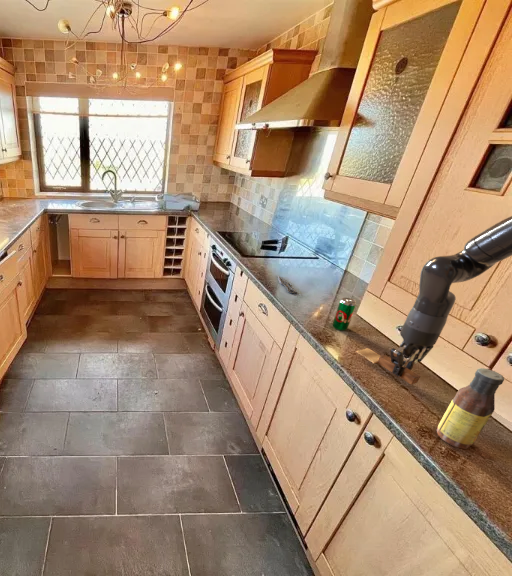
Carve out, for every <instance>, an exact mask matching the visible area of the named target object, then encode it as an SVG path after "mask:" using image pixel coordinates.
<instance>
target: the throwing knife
mask: <svg viewBox="0 0 512 576" xmlns="http://www.w3.org/2000/svg"><path fill="white" fill-rule="evenodd" d="M277 280H278V282H279V284H280V285H282V286H284V288H286V290H287V293H288V294H296V293H297V290H295V289H293V288H292V287H291V285H290V283H289V282H288V281H287V280H285V279H284V278H283V277H281V276H279V275H277Z"/></svg>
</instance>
